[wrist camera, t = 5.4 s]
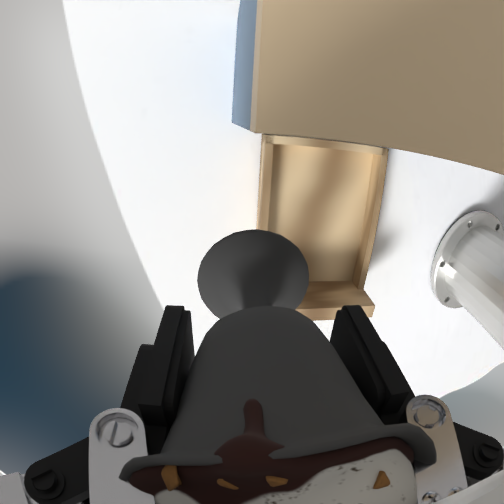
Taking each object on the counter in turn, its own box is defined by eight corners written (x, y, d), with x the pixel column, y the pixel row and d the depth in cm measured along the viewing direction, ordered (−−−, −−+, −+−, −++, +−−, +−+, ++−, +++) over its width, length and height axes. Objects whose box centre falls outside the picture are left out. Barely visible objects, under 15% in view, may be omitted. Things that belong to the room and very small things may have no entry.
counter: (402, 47, 21) (589, 23, 3) (397, 140, 25) (590, 208, 7) (237, 17, 19) (272, -160, 1) (231, 122, 23) (255, 133, 5)
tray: (375, 145, 24) (406, 154, 20) (351, 287, 30) (371, 317, 25) (261, 133, 23) (271, 137, 19) (252, 288, 29) (258, 322, 24)
